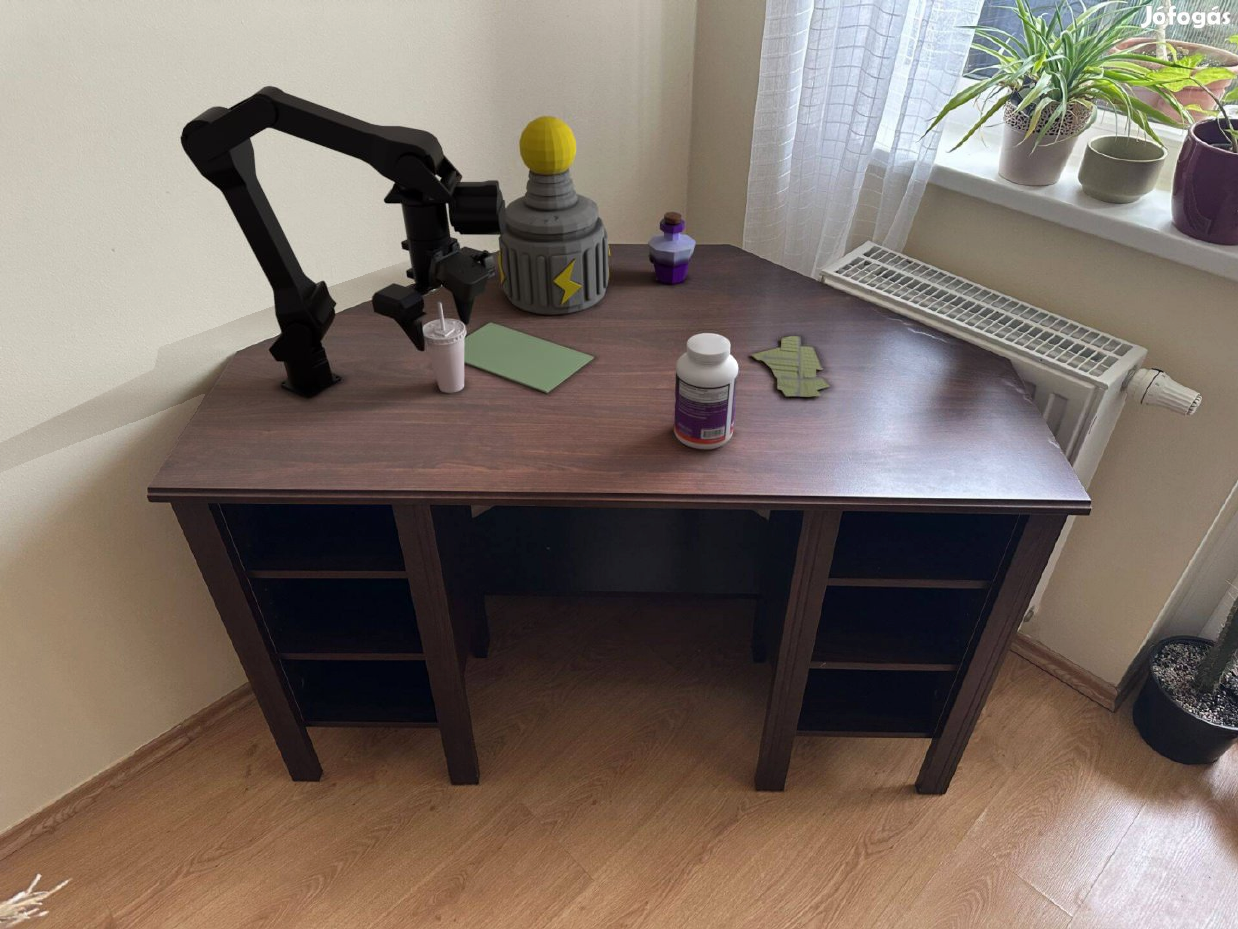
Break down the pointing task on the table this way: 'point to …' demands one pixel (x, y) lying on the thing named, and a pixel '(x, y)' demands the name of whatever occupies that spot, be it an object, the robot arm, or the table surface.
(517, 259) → the decorative lamp
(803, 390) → the olive flat irregular sheet
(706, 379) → the pill bottle
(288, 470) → the table surface
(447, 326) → the smoothie
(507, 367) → the green cloth
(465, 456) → the table surface
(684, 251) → the potion bottle
